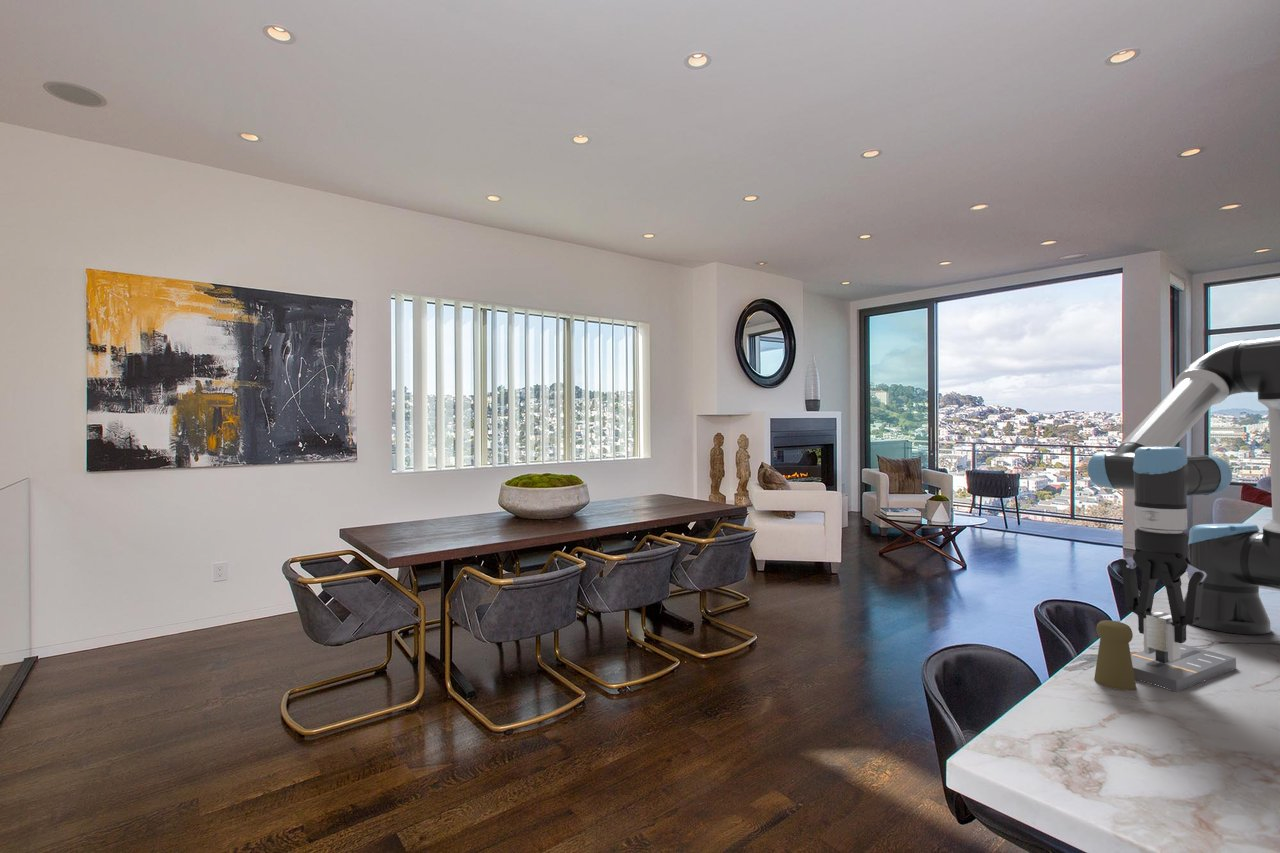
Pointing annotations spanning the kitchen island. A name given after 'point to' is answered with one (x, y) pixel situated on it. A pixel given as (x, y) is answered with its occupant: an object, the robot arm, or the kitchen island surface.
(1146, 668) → the fader console
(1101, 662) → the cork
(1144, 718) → the kitchen island surface
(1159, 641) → the fader knob
